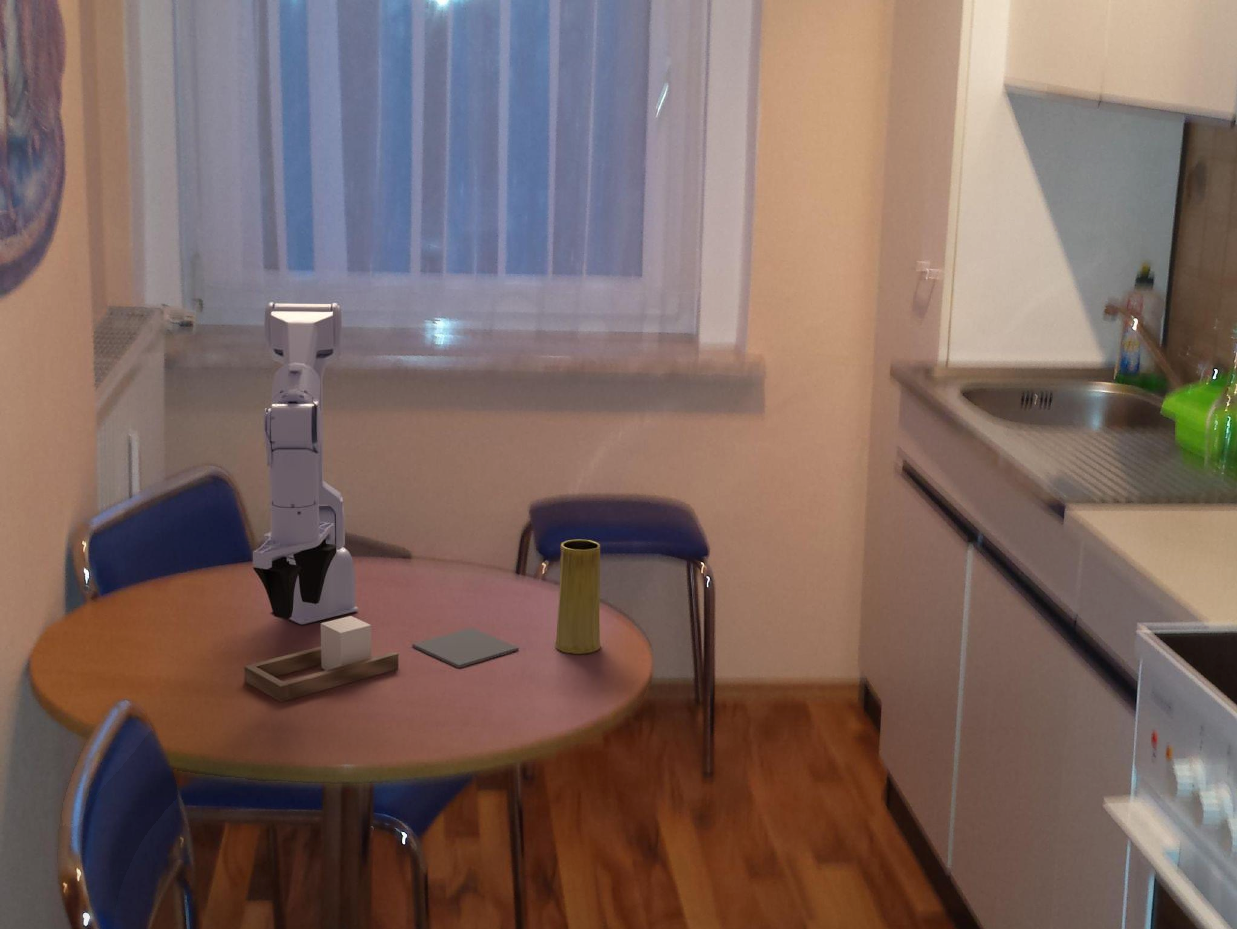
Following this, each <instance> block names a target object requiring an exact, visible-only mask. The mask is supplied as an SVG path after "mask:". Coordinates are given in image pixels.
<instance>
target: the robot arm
mask: <svg viewBox="0 0 1237 929" xmlns="http://www.w3.org/2000/svg"><path fill="white" fill-rule="evenodd" d="M342 329H343V328H342V308H341V307H340V306H339V305H338V302H337V303H336V302H332V303H280V302H279V303H277V302H276V303H275V301H274V302H272V301H269V302H268V304H267V305H266V306H265V309H264V339H265V340H264V341H265V346H266V347H267V350H268V354H269V355H270V357H271V360H272V361H274V362H277V363H280V364H282V365H283V366H281V367H279V369H277V371H276V372H275V374H274V376H273V378H272V387H271V388H272V389H271V396H270V406H269V408H267V407H265V408H264V412H263V426H262V427H263V429H262V430H263V441H264V446H265V452H266V466H267V467H269V472H268V473H269V474H268V475H269V505H270V506H269V509H270V510H269V511H270V512H269V513H270V515H269V516H270V531H269V532H267V533H264V534H263V540H264V541H265V542H263V544H261V545H260V547H259V548H257V549H256V550H253V551H252V568H253V569H252V570H254V572H255V573H256V575H257V576H258V578H259V579H260V581H261V583H262V584H263V587H264V589H265V591H266V594H267V598H268V600H269V604H270V607H271V611H272V614H273V617H275V618H280V619H286V620H291V621H292V622H294V623H297V624H298V625H307V624H311V623H315V622H318V621H322V620H326V619H330V618H334V617H338V616H343V615H347V614H351V613H354V612H358V611H359V607H357V606H356V599H355V598H356V597H355V596H356V595H355V594H356V593H355V591H356V590H355V587H356V586H355V564H354V560H353V557H352V555H351V552H349V550H348V549H346V548H345V545H346V544H345V542H346V541H345V540H346V539H345V538H346V524H345V523H346V518H345V517H346V515H345V507H344V498H343V497H342V493H341V492H340V491H338V490H337V489H336V488H334V487H333V486H331V485H330V484H328V483H327V482H326V481H325V480H324V419H323V418H324V417H323V416H324V415H323V414H324V413H323V411H324V410H323V407H324V406H323V405H324V404H323V395H324V394H323V379H324V378H323V377H324V375H325V372H326V368H327V366H328V365H331V364H332V363H336V362H338V361H339V360H340V356H341V354H342V335H343V334H342Z"/></svg>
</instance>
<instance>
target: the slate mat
mask: <svg viewBox="0 0 1237 929" xmlns="http://www.w3.org/2000/svg"><path fill="white" fill-rule="evenodd" d="M411 646H412V647H413V648H414V649H417V650H419V651H421V652H423V653H425V654H427V655H429V656H431V657H434V658H436V659H438V660H440V659H441V661H443V662H445V663H447V664H449V665H451V666H454V667H455V668H458V669H460V667H461V668H463V667H467V666H469V665H470V664H471V665H474V664H476V663H477V662H478V663H480V662H483V661H487V660H486V659H488V660H490V659H489V658H491V659H494V658H493V657H495V656H498V657H500V656H499V655H501V656H503V654H505V653H508V654H510V653H509V652H511V653H514V652H513V651H515V652H517V651H516V650H518V651H519V650H520V649H519V647H518V646H516V645H515V644H511V643H509V642H507V641H504V640H502V639H500V638H497V637H495V636H492V635H490V634H488V633H485V632H483V631H480V630H478V629H476V628H473V627H469V628H464V629H460V630H458V631H454V632H451V633H448V634H443V635H439V636H435V637H433V638H429V639H424V640H421V641H418V642H413V643H412V644H411ZM505 655H506V654H505ZM495 658H496V657H495ZM478 663H477V664H478Z"/></svg>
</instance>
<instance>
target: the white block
mask: <svg viewBox="0 0 1237 929" xmlns="http://www.w3.org/2000/svg"><path fill="white" fill-rule="evenodd" d="M320 646H321V664H320V666H321V669H323V670H324V671H325V670H329V669H333V668H336V667H340V666H344V665H347V664H351V663H354V662H358V661H362V660H365V659H369V658H372V624H369V623H367V622H365V621H364V620H360V619H359V618H356V617H354V616H352V615H348V616H345V617H341V618H337V619H333V620H329V621H324V622H321V623H320Z"/></svg>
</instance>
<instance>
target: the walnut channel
mask: <svg viewBox="0 0 1237 929" xmlns="http://www.w3.org/2000/svg"><path fill="white" fill-rule="evenodd" d="M319 665H320V666H321V645H319V646H316V647H313V648H312V647H311V648H309V649H306V650H302V651H301V650H300V651H298V652H297V651H296V652H294V653H290V654H286V655H282V656H278V657H274V658H271V659H267V660H262V661H258V662H255V663H251V664H248V665H244V666H243V671H244V672H243V673H244V674H243V675H244V676H243V677H244V682H245V683H246V684H248V685H250V686H252V687H253V688H255V689H257V690H259V691H261V692H262V693H265V694H266V695H268V696H270V697H271V698H273V699H275V700H276V701H279V702H280V703H283V702H287V701H290V700H293V699H297V698H300V697H304V696H307V695H311V694H315V693H318V692H322V691H325V690H328V689H332V688H336V687H339V686H342V685H346V684H350V683H353V682H357V681H360V680H364V679H367V678H371V677H375V676H377V675H381V674H385V673H388V672H391V671H395V670H398V669H399V653H398V652H396V651H392V652H388V653H385V654H384V653H383V654H380V655H376V656H374V657H371V658H369V659H365V660H362V661H358V662H354V663H351V664H347V665H344V666H340V667H336V668H333V669H329V670H325V669H324V670H323V671H319V672H316V673H312V674H308V675H304V676H300V677H297V678H293V679H289V680H286V681H282V680H281V679H279V678H277V677H279V676H283V675H286V674H289V673H293V672H294V673H295V672H297V671H302V670H305V669H308V668H312V667H316V666H319Z"/></svg>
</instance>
